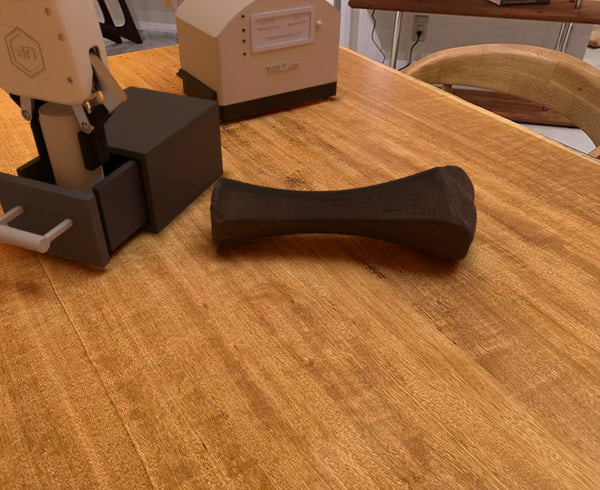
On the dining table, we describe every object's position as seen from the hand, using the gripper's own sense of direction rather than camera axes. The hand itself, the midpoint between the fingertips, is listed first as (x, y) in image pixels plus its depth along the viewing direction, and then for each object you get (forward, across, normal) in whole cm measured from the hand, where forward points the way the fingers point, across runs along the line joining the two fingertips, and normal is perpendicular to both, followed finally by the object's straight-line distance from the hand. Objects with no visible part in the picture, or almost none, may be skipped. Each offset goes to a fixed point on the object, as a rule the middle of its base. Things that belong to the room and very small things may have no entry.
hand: (75, 158), depth 60 cm
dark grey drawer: (+8, 0, -1) cm, 8 cm away
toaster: (+9, -5, +47) cm, 49 cm away
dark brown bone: (+9, +26, +9) cm, 29 cm away
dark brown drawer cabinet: (+9, 0, +11) cm, 14 cm away
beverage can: (+7, 0, 0) cm, 7 cm away
